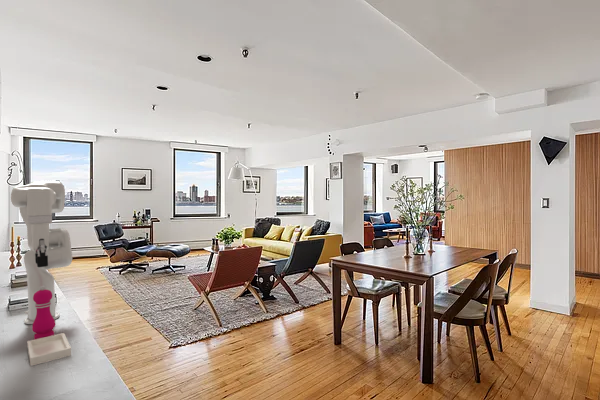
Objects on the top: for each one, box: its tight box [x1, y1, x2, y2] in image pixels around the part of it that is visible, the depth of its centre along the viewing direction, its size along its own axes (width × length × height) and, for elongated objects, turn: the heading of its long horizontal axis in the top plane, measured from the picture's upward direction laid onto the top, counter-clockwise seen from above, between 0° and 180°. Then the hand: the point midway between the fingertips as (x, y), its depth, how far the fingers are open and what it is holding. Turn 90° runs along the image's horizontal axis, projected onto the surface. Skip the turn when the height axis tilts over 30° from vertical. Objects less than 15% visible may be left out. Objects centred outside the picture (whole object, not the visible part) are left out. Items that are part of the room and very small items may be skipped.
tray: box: [26, 332, 72, 367], centre depth 123 cm, size 18×11×2 cm, turn 40°
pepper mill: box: [31, 286, 56, 340], centre depth 135 cm, size 7×7×20 cm
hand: (41, 264), depth 135 cm, fingers open, 9 cm apart
